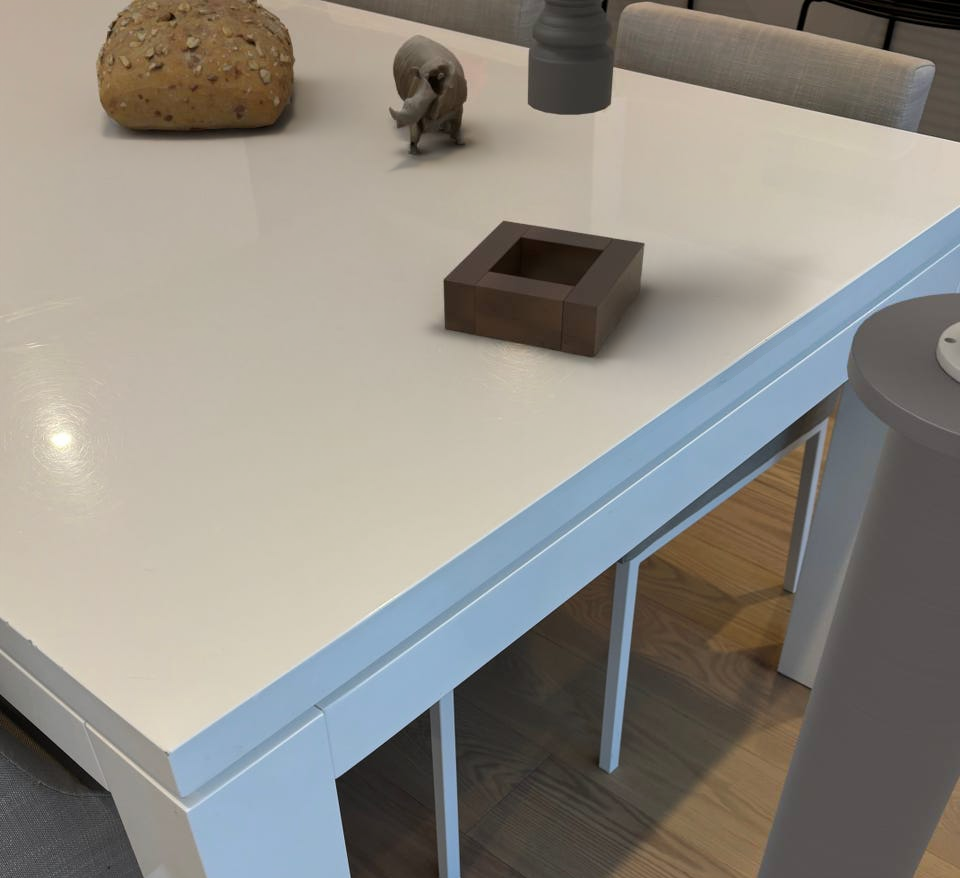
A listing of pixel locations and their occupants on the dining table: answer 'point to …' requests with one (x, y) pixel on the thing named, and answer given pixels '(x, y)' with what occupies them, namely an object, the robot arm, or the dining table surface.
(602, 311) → the square frame
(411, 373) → the dining table surface
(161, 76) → the bread
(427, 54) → the rhinoceros figurine
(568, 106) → the candle holder
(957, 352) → the robot arm
